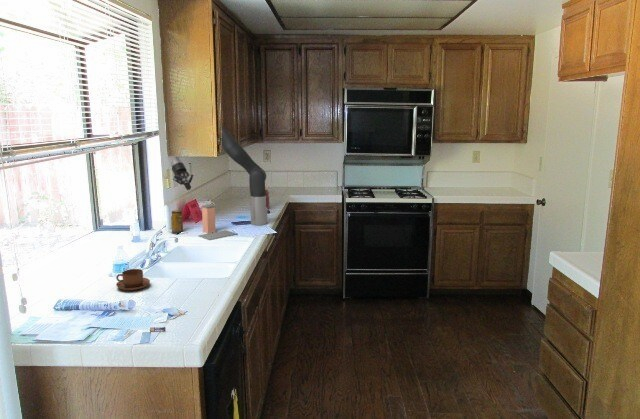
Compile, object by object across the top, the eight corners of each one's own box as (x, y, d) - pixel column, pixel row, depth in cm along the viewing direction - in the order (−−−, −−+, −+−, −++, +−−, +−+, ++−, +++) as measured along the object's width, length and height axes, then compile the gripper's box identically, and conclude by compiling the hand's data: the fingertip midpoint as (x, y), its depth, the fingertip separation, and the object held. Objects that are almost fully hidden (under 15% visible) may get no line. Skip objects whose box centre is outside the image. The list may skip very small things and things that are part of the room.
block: (210, 230, 274) (209, 204, 271) (215, 231, 271) (214, 205, 268) (202, 231, 271) (201, 205, 268) (207, 233, 267) (207, 206, 264)
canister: (247, 209, 334) (247, 184, 331) (255, 206, 347) (255, 182, 343) (265, 211, 331) (264, 185, 327) (272, 207, 343) (272, 183, 339)
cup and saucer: (116, 294, 177) (115, 278, 176) (116, 284, 188) (115, 268, 187) (151, 290, 181) (150, 275, 180) (149, 280, 192) (148, 265, 191)
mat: (225, 230, 273) (225, 230, 273) (237, 234, 266) (237, 233, 266) (198, 236, 261) (198, 235, 261) (209, 240, 253) (209, 239, 253)
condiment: (179, 230, 274) (178, 209, 272) (188, 232, 269) (187, 211, 266) (168, 232, 269) (167, 211, 267) (176, 234, 264) (175, 213, 261)
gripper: (169, 162, 278) (181, 186, 272) (189, 161, 288) (201, 184, 282) (165, 170, 283) (176, 194, 277) (185, 169, 292) (196, 191, 286)
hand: (189, 189), depth 279 cm, fingers closed
